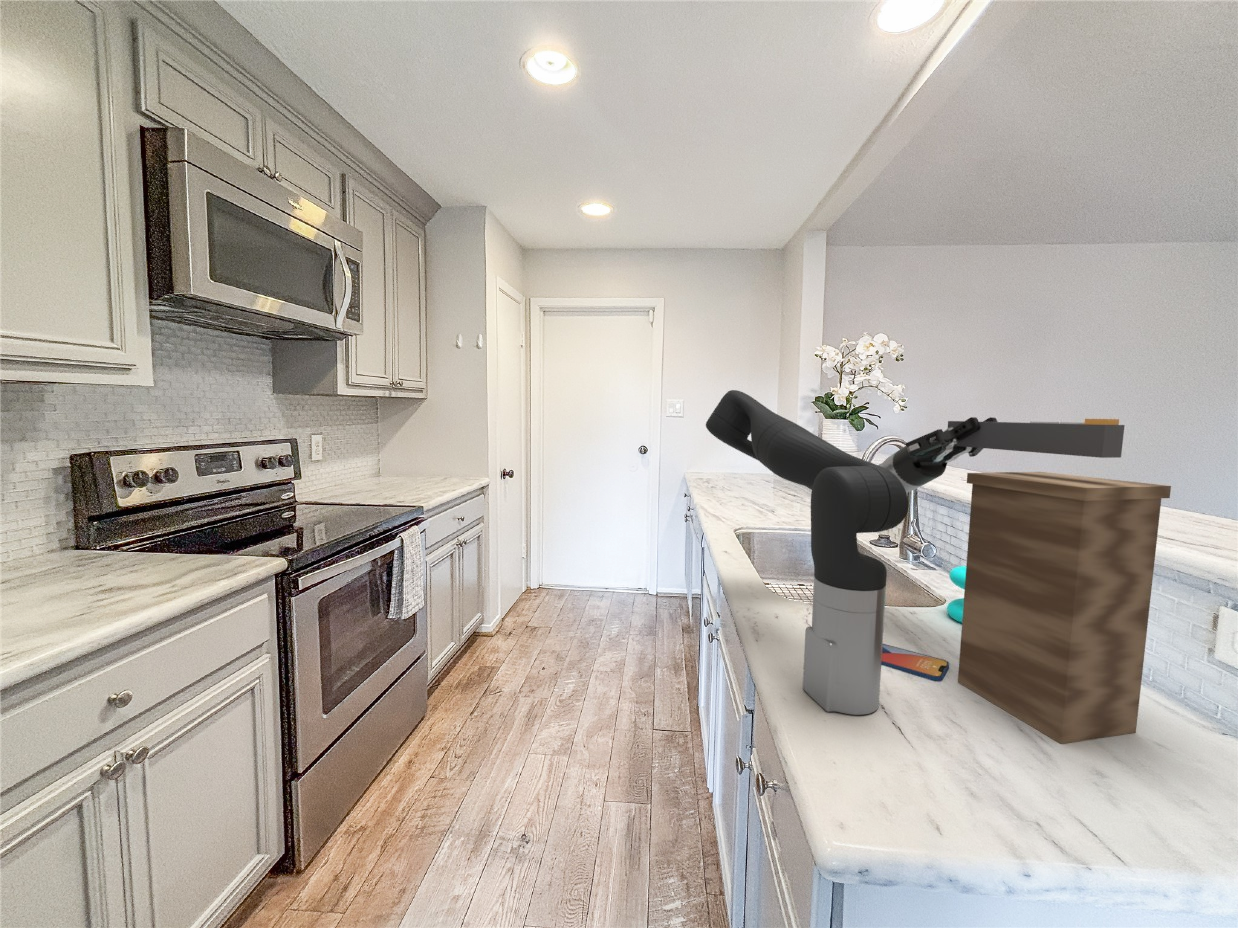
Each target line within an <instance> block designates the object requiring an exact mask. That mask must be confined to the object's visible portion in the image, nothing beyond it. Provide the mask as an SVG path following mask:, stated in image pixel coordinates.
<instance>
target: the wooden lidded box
mask: <svg viewBox="0 0 1238 928" xmlns="http://www.w3.org/2000/svg"><path fill="white" fill-rule="evenodd" d="M966 475H967V476H966V483H967V484H969V485H972V486H971V487H972V488H971V499H970V511H969V512H970V513H969V514H970V515H969V525H968V527H969V528H968V539H967V541H968V542H967V553H966V554H967V555H966V565H965V566H966V578H965V590H964V591H963V592H964V593H963V594H964V595H963V598H964V605H963V618H962V623H961V633H960V634H961V636H960V648H959V662H958V675H957V683H958V684H961V685H962V686H963V687H965V688H966V689H968V690H970V691H972V692H973V693H975V694H977V695H978V696H980V697H982V698H984V699H985V700H987V701H989V702H990V703H992V704H994V705H995V706H997V707H998V708H1000V709H1002V710H1004V711H1005V712H1007V713H1009V714H1010V715H1012V716H1013V717H1015V718H1017V719H1019V720H1020V721H1022V722H1023V723H1025V724H1027V725H1028V726H1030V727H1032V728H1034V729H1035V730H1037V731H1039V732H1040V733H1042V734H1044V735H1045V736H1047V737H1049V738H1050V739H1052V740H1053V741H1055V742H1057V743H1058V744H1061V745H1062V744H1063V745H1064V744H1069V743H1075V742H1082V741H1083V742H1084V741H1087V740H1097V739H1102V738H1109V737H1116V736H1122V735H1128V734H1135V733H1136V732H1137V725H1138V724H1137V723H1138V716H1139V708H1140V707H1139V706H1140V698H1141V688H1142V687H1141V686H1142V679H1143V678H1142V677H1143V670H1144V663H1145V662H1144V661H1145V652H1146V643H1147V634H1148V625H1149V616H1150V606H1151V597H1152V590H1153V589H1152V587H1153V578H1154V569H1155V561H1156V553H1157V552H1156V551H1157V541H1158V535H1159V534H1158V533H1159V524H1160V514H1161V506H1162V499H1171V491H1172V490H1171V489H1172V485H1165V484H1155V483H1147V482H1146V483H1145V482H1140V481H1139V482H1137V481H1129V480H1119V479H1109V478H1102V477H1090V476H1084V475H1083V476H1082V475H1073V474H1062V473H1055V472H1054V473H1053V472H1047V471H1046V472H1044V471H1008V472H1007V471H1006V472H1002V471H1000V472H998V471H996V472H967V474H966Z"/></svg>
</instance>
